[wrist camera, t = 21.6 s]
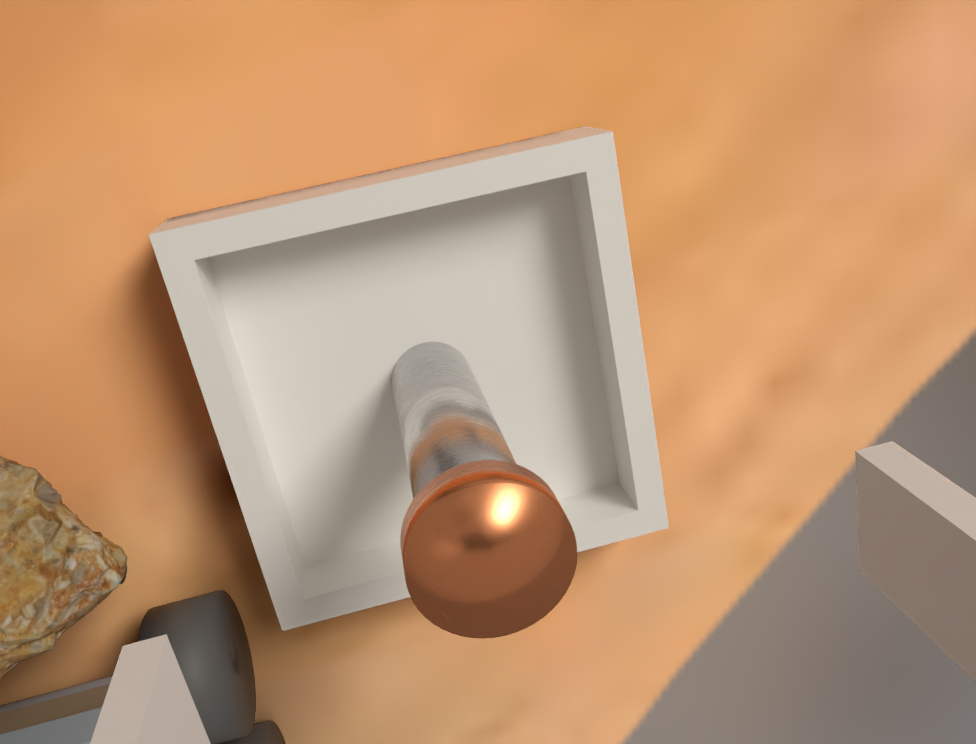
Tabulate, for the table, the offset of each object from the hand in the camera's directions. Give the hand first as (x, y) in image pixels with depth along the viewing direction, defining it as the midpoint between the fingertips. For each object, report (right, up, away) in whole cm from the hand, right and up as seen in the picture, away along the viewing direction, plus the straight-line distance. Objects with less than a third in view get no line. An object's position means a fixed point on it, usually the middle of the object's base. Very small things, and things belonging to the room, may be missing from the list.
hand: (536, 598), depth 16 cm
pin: (-3, +4, +14) cm, 15 cm away
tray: (-3, +4, +15) cm, 16 cm away
